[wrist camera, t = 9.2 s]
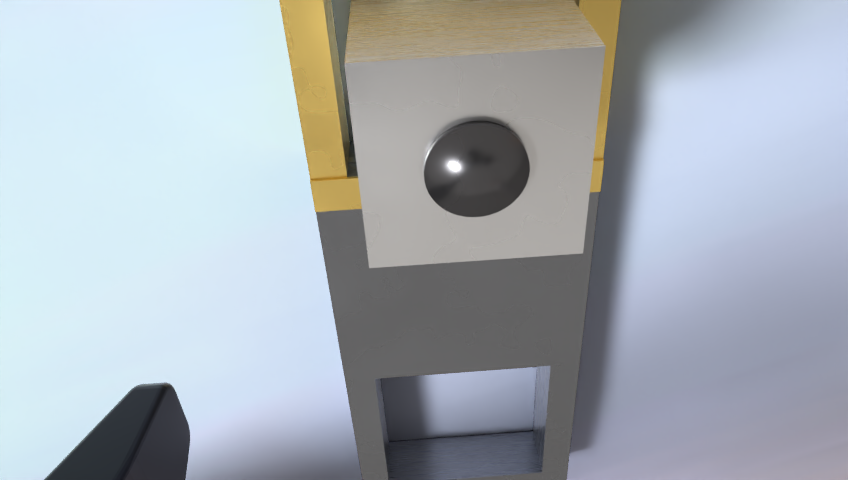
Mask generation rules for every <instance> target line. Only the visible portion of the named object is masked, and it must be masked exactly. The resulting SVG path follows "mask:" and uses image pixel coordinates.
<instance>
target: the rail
mask: <svg viewBox="0 0 848 480" xmlns="http://www.w3.org/2000/svg"><path fill="white" fill-rule="evenodd" d="M279 1H280V7H281V12H282V18H283V24H284V30H285V36H286V41H287V47H288V53H289V59H290V64H291V70H292V76H293V82H294V87H295V93H296V99H297V105H298V111H299V116H300V122H301V128H302V134H303V139H304V145H305V151H306V157H307V163H308V168H309V174H310V183H311V189H312V195H313V201H314V206H315V212H316V214H317V220H318V226H319V232H320V238H321V243H322V249H323V255H324V261H325V266H326V272H327V278H328V284H329V290H330V295H331V301H332V307H333V313H334V318H335V324H336V330H337V336H338V342H339V347H340V353H341V359H342V365H343V370H344V376H345V382H346V388H347V393H348V399H349V405H350V411H351V417H352V422H353V428H354V434H355V440H356V445H357V451H358V457H359V463H360V469H361V474H362V480H566V479H567V470H568V461H569V453H570V444H571V435H572V426H573V418H574V409H575V400H576V392H577V383H578V374H579V365H580V357H581V348H582V339H583V330H584V322H585V313H586V304H587V296H588V287H589V278H590V269H591V261H592V252H593V243H594V235H595V226H596V217H597V208H598V200H599V192H601V183H602V175H603V166H604V159H603V156H604V147H605V139H606V130H607V121H608V112H609V104H610V95H611V86H612V78H613V69H614V60H615V51H616V43H617V34H618V25H619V17H620V8H621V0H574V2H575V3H576V5H577V6H578V8H579V9H580V10H581V12H582V13H583V15H584V16H585V17H586V19H587V20H588V22H589V23H590V25H591V26H592V27H593V29H594V30H595V32H596V33H597V35H598V36H599V37H600V39H601V40H602V42H603V43H604V45H605V46H606V47H605V56H604V66H603V75H602V84H601V93H600V102H599V112H598V121H597V130H596V139H595V148H594V157H593V167H592V176H591V185H590V194H589V203H588V212H587V222H586V231H585V240H584V249H583V253H582V254H568V255H553V256H539V257H524V258H510V259H495V260H481V261H466V262H452V263H437V264H423V265H408V266H394V267H379V268H369V262H368V254H367V246H366V238H365V230H364V221H363V213H362V205H361V197H360V189H359V180H358V172H357V164H356V156H355V148H354V142H350V140H349V132H348V125H347V117H346V109H345V102H344V94H343V86H342V78H341V71H340V63H339V55H338V47H337V40H336V32H335V24H334V17H333V9H332V1H331V0H279ZM527 367H537V376H536V391H535V407H534V423H533V431H528V432H515V433H501V434H488V435H475V436H462V437H448V438H435V439H422V440H408V441H395V442H389V441H388V434H387V426H386V418H385V411H384V403H383V395H382V387H381V380H380V378H392V377H405V376H419V375H432V374H446V373H459V372H473V371H486V370H500V369H513V368H527Z"/></svg>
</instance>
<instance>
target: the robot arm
mask: <svg viewBox="0 0 848 480" xmlns="http://www.w3.org/2000/svg"><path fill="white" fill-rule="evenodd" d="M189 446H190V430H189V425H188V422H187V420H186V417H185V414H184V412H183V409H182V407H181V404H180V402H179V399H178V397H177V394H176V392H175V390H174V388H173V386H172V385H170V384H169V383H154V384H141V385H138V386H136V387H134V388H133V389H132V390H130V391H129V392H128V393H127V395H126V396H125V397H124V398H123V399H122V400H121V401H120V402H119V403H118V404H117V405H116V406H115V407H114V408H113V409H112V410H111V411H110V412H109V413H108V414H107V415H106V416H105V417H104V418H103V419H102V420H101V421H100V422H99V423H98V425H97V426H96V427H95V428H94V429H93V430H92V431H91V432H90V433H89V434H88V435H87V436H86V437H85V438H84V439H83V440H82V441H81V442H80V443H79V444H78V445H77V446H76V447H75V448H74V449H73V450H72V451H71V452H70V454H69V455H68V456H67V457H66V458H65V459H64V460H63V461H62V462H61V463H60V464H59V465H58V466H57V467H56V468H55V469H54V470H53V471H52V472H51V473H50V474H49V475H48V476H47V477H46V478H45V479H44V480H185V478H186V470H187V462H188V454H189Z"/></svg>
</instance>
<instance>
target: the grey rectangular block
mask: <svg viewBox="0 0 848 480" xmlns="http://www.w3.org/2000/svg"><path fill="white" fill-rule="evenodd" d="M605 47H606V46H605V45H604V43H603V42H602V40H601V39H600V37H599V36H598V35H597V33H596V32H595V30H594V29H593V27H592V26H591V25H590V23H589V22H588V20H587V19H586V17H585V16H584V15H583V13H582V12H581V10H580V9H579V8H578V6H577V5H576V3H575V2H574V0H351V6H350V15H349V24H348V33H347V42H346V52H345V61H344V66H345V74H346V82H347V90H348V98H349V107H350V115H351V123H352V131H353V139H354V148H355V156H356V164H357V172H358V180H359V189H360V197H361V205H362V213H363V221H364V230H365V238H366V246H367V254H368V262H369V268H379V267H394V266H408V265H423V264H437V263H452V262H466V261H481V260H495V259H510V258H524V257H539V256H553V255H568V254H582V253H583V249H584V240H585V231H586V222H587V212H588V203H589V194H590V185H591V176H592V167H593V157H594V148H595V139H596V130H597V121H598V112H599V102H600V93H601V84H602V75H603V66H604V56H605Z"/></svg>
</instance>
